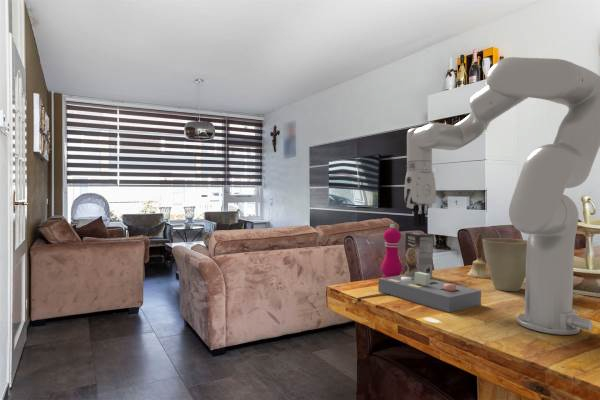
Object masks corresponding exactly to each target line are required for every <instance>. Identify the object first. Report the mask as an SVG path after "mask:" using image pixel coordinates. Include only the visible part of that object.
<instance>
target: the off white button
mask: <svg viewBox="0 0 600 400" xmlns="http://www.w3.org/2000/svg"><path fill="white" fill-rule="evenodd" d="M401 280H404V281H411V280H412V278H410V277H401Z"/></svg>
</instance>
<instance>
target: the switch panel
mask: <svg viewBox="0 0 600 400" xmlns="http://www.w3.org/2000/svg"><path fill="white" fill-rule="evenodd" d="M399 275H400V276H393V277H386V278H383V277H380V278H378V290H377V291H378V292H379V293H383V294H387V295H389V294H390V295H389V296H392V295H394V296H393V297H396V296H397V297H396V298H399V297H400V299H402V298H403V300H406V301H410V302H412V303H416V304H419V305H423V306H425V307H430V308H433V309H435V310H439V311H442V312H446V313H453V312H457V311H461V310H466V309H469V308H473V307H477V306H481V304H482V290H479V289H475V288H471V287H466V286H464V285H463V286H462V285H459V284H455V285H456V292H448V291H444V284H445V283H447V282H446V281H441V280H436V279H433V278H431V279H430V285H427V286H420V284H416V283H415V275H411V274H407V275H406V274H399ZM401 277H410V278H412V280H411V281H404V280H401Z"/></svg>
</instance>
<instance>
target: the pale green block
mask: <svg viewBox="0 0 600 400" xmlns="http://www.w3.org/2000/svg"><path fill="white" fill-rule="evenodd" d="M415 283H416V284H420V286H427V285H430V274H427V273H423V272H415Z"/></svg>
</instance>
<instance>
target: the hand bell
mask: <svg viewBox="0 0 600 400" xmlns="http://www.w3.org/2000/svg"><path fill="white" fill-rule="evenodd" d="M483 239H484V237H483V236H482V233H477V237H476V238H475V247H476V252H477V253H476V260H473V261H472V266H471V269H470V270H469V271H468V272H467V274H466V275H467V276H468V277H470V278H471V277H472V278H477V279H491V277H490V274H489V271H488V268H487V263H486V261H484V260H483V256H482V255H483V254H482V252H483V249H484V248H483V241H482V240H483Z"/></svg>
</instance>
